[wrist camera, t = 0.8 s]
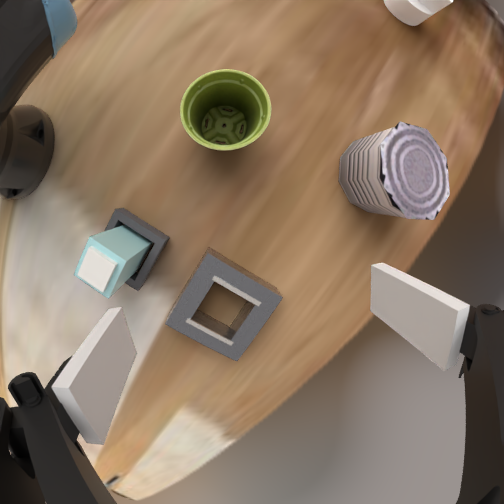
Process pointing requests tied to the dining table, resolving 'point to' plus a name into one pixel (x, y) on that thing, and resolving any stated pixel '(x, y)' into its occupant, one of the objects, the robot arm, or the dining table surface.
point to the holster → (146, 231)
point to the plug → (112, 259)
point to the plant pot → (225, 97)
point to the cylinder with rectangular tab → (415, 9)
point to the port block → (207, 328)
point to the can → (396, 173)
